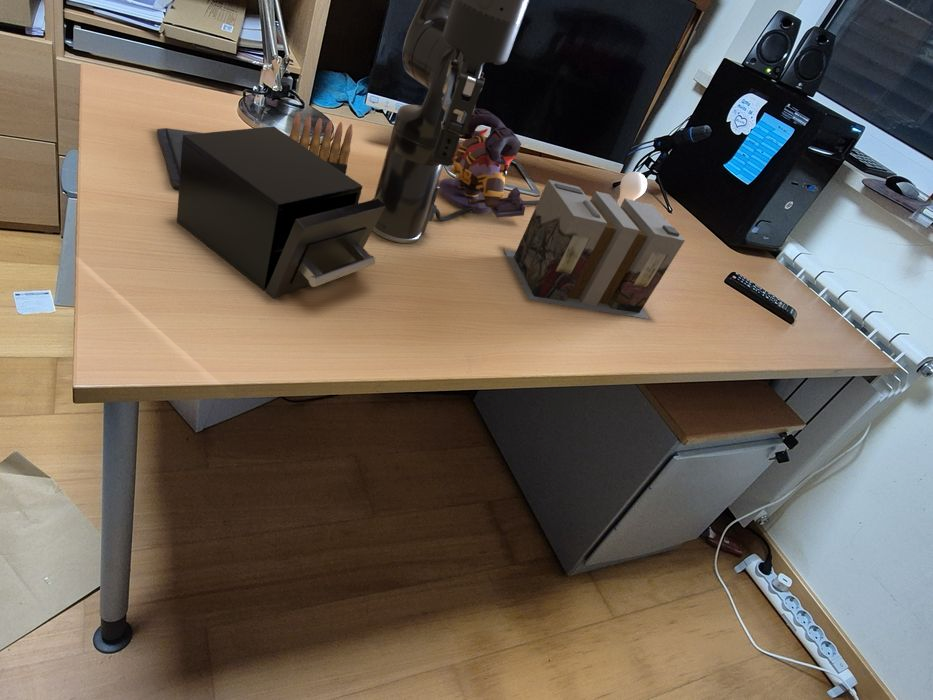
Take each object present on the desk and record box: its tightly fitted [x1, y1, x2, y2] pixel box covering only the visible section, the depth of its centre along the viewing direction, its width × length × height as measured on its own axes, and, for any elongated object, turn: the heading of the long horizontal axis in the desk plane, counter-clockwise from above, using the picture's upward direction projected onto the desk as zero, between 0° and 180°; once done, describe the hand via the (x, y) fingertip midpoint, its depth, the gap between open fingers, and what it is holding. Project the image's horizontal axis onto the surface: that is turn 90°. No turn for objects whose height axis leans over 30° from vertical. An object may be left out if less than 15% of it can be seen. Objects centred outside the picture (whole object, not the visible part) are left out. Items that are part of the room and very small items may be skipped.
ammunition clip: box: [288, 112, 353, 175], centre depth 105 cm, size 11×2×12 cm, turn 111°
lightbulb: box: [616, 171, 648, 206], centre depth 147 cm, size 6×6×11 cm
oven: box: [176, 126, 363, 292], centre depth 86 cm, size 18×15×13 cm
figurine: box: [438, 107, 526, 218], centre depth 122 cm, size 20×14×17 cm
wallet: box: [156, 127, 200, 191], centre depth 102 cm, size 20×2×15 cm
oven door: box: [265, 199, 385, 300], centre depth 82 cm, size 5×15×13 cm, turn 146°
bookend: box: [503, 179, 686, 320], centre depth 109 cm, size 16×25×16 cm, turn 104°
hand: (440, 150), depth 74 cm, fingers open, 8 cm apart
